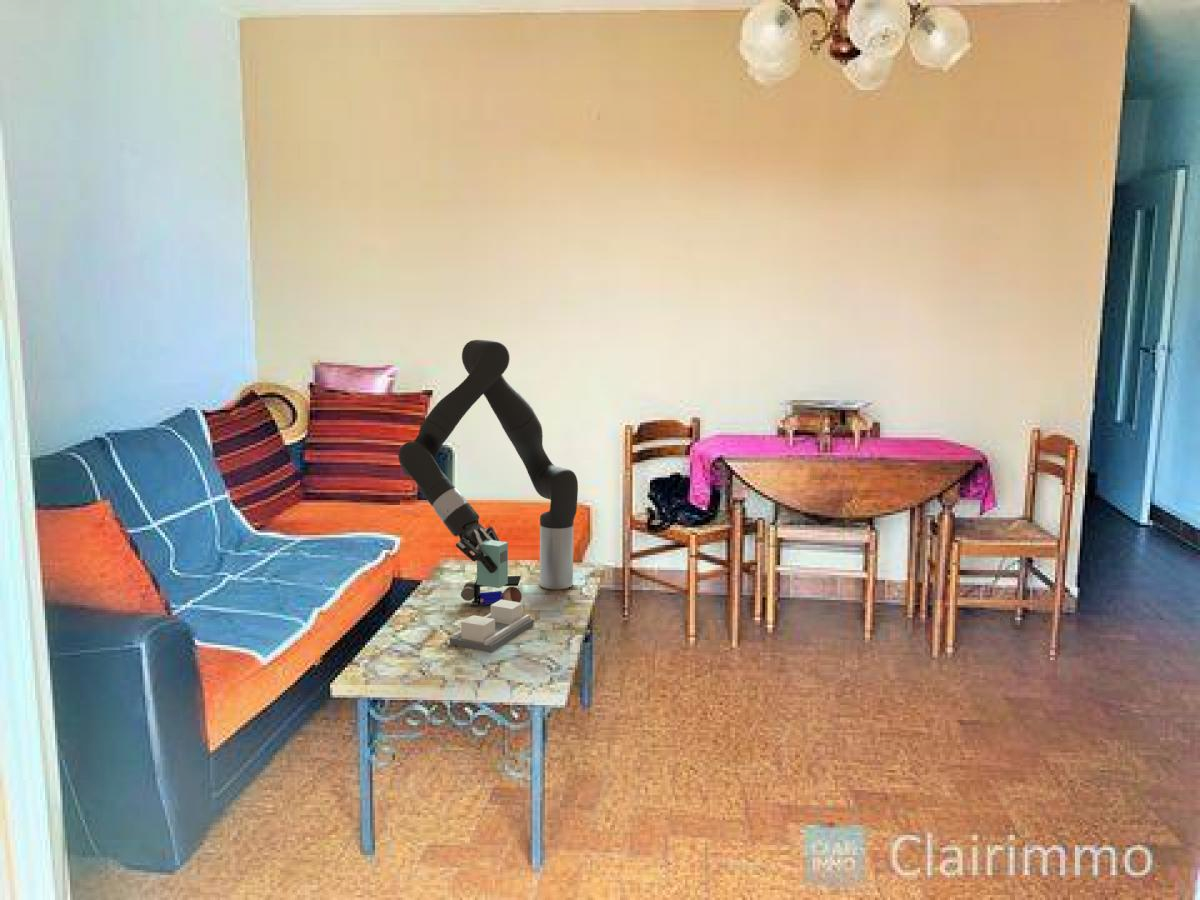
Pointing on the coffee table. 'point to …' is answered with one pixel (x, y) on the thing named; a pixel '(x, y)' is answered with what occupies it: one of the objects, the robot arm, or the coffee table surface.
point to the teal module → (500, 558)
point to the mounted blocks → (491, 620)
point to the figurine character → (492, 593)
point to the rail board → (495, 635)
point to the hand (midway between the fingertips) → (499, 568)
